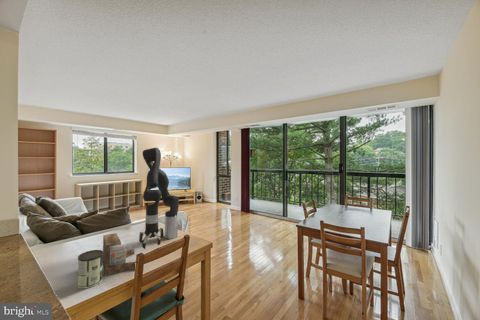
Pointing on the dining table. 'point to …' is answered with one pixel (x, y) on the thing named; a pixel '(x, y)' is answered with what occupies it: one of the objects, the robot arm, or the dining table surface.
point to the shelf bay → (108, 242)
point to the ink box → (117, 254)
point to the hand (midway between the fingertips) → (151, 246)
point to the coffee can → (90, 268)
